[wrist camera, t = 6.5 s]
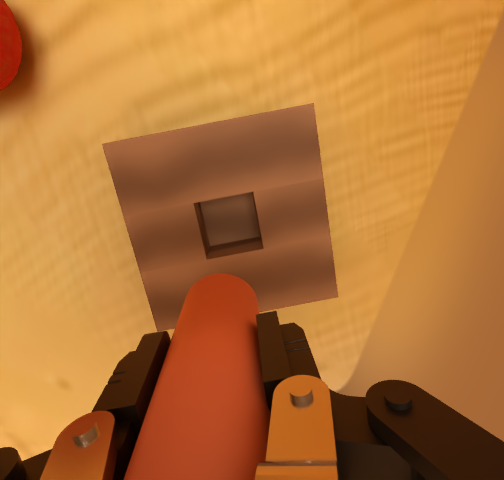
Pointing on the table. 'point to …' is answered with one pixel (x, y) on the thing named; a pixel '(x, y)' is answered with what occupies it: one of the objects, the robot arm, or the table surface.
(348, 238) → the table surface
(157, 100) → the table surface
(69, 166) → the table surface
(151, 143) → the bore block
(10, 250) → the table surface
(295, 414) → the robot arm
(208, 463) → the dowel
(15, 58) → the apple
